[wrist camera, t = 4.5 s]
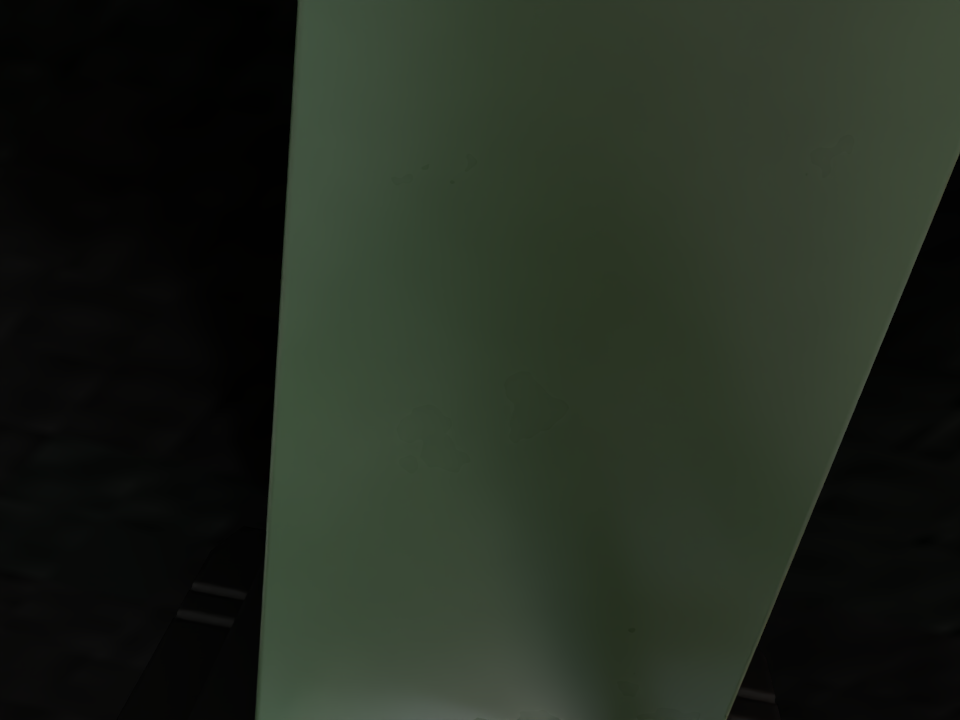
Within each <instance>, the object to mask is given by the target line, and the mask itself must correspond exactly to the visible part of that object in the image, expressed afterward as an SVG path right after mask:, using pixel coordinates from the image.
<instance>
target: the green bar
mask: <svg viewBox="0 0 960 720" xmlns="http://www.w3.org/2000/svg"><path fill="white" fill-rule="evenodd" d="M959 154H960V0H298V5H297V21H296V38H295V55H294V72H293V88H292V105H291V122H290V139H289V155H288V172H287V189H286V206H285V222H284V239H283V256H282V273H281V289H280V306H279V323H278V340H277V356H276V373H275V390H274V407H273V423H272V440H271V457H270V474H269V490H268V507H267V524H266V541H265V557H264V574H263V591H262V607H261V624H260V641H259V658H258V674H257V691H256V708H255V720H727V718H728V715H729V713H730V711H731V708H732V706H733V703H734V701H735V698H736V696H737V694H738V691H739V689H740V686H741V684H742V681H743V679H744V677H745V674H746V672H747V669H748V667H749V664H750V662H751V660H752V657H753V655H754V652H755V650H756V647H757V645H758V643H759V640H760V638H761V635H762V633H763V630H764V628H765V625H766V623H767V621H768V618H769V616H770V613H771V611H772V608H773V606H774V604H775V601H776V599H777V596H778V594H779V591H780V589H781V587H782V584H783V582H784V579H785V577H786V574H787V572H788V570H789V567H790V565H791V562H792V560H793V557H794V555H795V553H796V550H797V548H798V545H799V543H800V540H801V538H802V536H803V533H804V531H805V528H806V526H807V523H808V521H809V519H810V516H811V514H812V511H813V509H814V506H815V504H816V501H817V499H818V497H819V494H820V492H821V489H822V487H823V484H824V482H825V480H826V477H827V475H828V472H829V470H830V467H831V465H832V463H833V460H834V458H835V455H836V453H837V450H838V448H839V446H840V443H841V441H842V438H843V436H844V433H845V431H846V429H847V426H848V424H849V421H850V419H851V416H852V414H853V412H854V409H855V407H856V404H857V402H858V399H859V397H860V395H861V392H862V390H863V387H864V385H865V382H866V380H867V377H868V375H869V373H870V370H871V368H872V365H873V363H874V360H875V358H876V356H877V353H878V351H879V348H880V346H881V343H882V341H883V339H884V336H885V334H886V331H887V329H888V326H889V324H890V322H891V319H892V317H893V314H894V312H895V309H896V307H897V305H898V302H899V300H900V297H901V295H902V292H903V290H904V288H905V285H906V283H907V280H908V278H909V275H910V273H911V271H912V268H913V266H914V263H915V261H916V258H917V256H918V254H919V251H920V249H921V246H922V244H923V241H924V239H925V236H926V234H927V232H928V229H929V227H930V224H931V222H932V219H933V217H934V215H935V212H936V210H937V207H938V205H939V202H940V200H941V198H942V195H943V193H944V190H945V188H946V185H947V183H948V181H949V178H950V176H951V173H952V171H953V168H954V166H955V164H956V161H957V159H958V156H959Z"/></svg>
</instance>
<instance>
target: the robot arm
mask: <svg viewBox="0 0 960 720" xmlns="http://www.w3.org/2000/svg"><path fill="white" fill-rule="evenodd" d="M265 541H266V530H260V529H255V528H250V527H245V526H243V527H242V528H241V529H239V530H238V531H237V532H235V533H234V534H233V535H231V536H230V537H229V538H227V539H226V540H225V541H223V542H222V543H221V544H220V545H218V546H217V547H216V548H214V549H213V550H212V551H211V552H210V554H209V555H208V557H207V559H206V561H205V563H204V564H203V566H202V568H201V570H200V572H199V573H198V575H197V577H196V579H195V580H194V582H193V586H192V589H191V590H189V591H188V593H187V595H186V597H185V598H184V600H183V602H182V604H181V606H180V607H179V609H178V612H177V616H176V618H173V620H172V622H171V623H170V625H169V627H168V629H167V631H166V632H165V634H164V636H163V638H162V640H161V641H160V643H159V645H158V647H157V649H156V650H155V652H154V654H153V656H152V657H151V659H150V661H149V663H148V665H147V666H146V668H145V670H144V672H143V674H142V675H141V677H140V679H139V681H138V683H137V684H136V686H135V688H134V690H133V691H132V693H131V695H130V697H129V699H128V700H127V702H126V704H125V706H124V708H123V709H122V711H121V713H120V715H119V717H118V718H117V720H255V708H256V691H257V674H258V658H259V641H260V624H261V607H262V591H263V574H264V557H265ZM727 720H781V718H780V714H779V710H778V705H777V704H775V693H774V689H773V685H772V680H771V676H770V672H769V668H768V664H767V660H766V657H765V656H764V654H763V653H762V652H761V650H760V649H759V647H758V646H757V647H756V650H755V652H754V655H753V657H752V660H751V662H750V664H749V667H748V669H747V672H746V674H745V677H744V679H743V681H742V684H741V686H740V689H739V691H738V694H737V696H736V698H735V701H734V703H733V706H732V708H731V711H730V713H729V715H728V718H727Z"/></svg>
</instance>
